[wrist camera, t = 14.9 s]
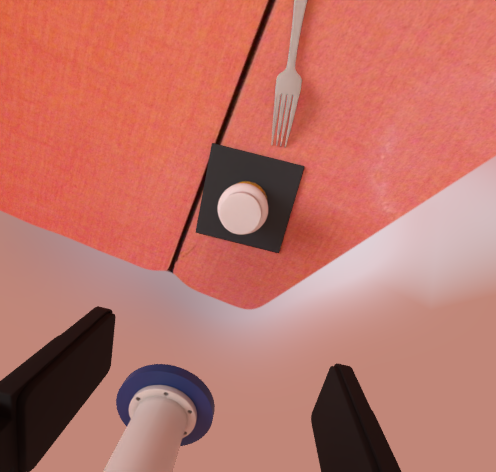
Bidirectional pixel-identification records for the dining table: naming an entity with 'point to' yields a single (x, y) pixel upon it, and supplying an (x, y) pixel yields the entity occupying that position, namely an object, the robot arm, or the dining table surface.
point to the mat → (260, 172)
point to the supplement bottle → (243, 208)
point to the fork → (289, 77)
